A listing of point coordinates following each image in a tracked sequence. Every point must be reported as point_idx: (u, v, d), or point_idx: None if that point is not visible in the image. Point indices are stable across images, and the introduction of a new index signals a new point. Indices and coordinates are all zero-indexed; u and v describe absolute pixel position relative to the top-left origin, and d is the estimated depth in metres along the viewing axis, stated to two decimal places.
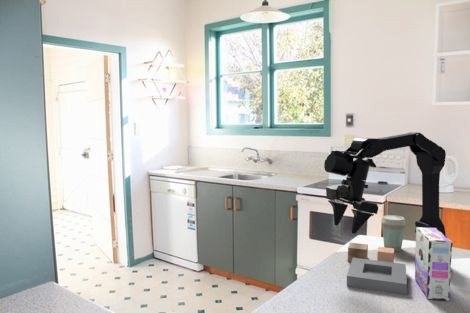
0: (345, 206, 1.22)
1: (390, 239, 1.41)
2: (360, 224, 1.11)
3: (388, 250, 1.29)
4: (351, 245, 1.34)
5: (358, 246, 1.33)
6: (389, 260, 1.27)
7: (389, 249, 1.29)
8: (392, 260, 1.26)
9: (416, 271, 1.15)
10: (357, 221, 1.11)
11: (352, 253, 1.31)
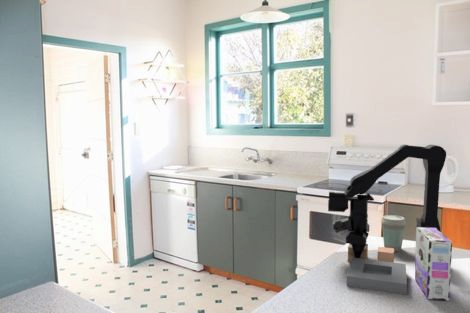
0: None
1: (390, 239, 1.41)
2: (359, 252, 1.29)
3: (388, 250, 1.29)
4: (351, 245, 1.34)
5: None
6: (389, 260, 1.27)
7: (389, 249, 1.29)
8: (392, 260, 1.26)
9: (416, 271, 1.15)
10: (355, 249, 1.30)
11: (352, 253, 1.31)
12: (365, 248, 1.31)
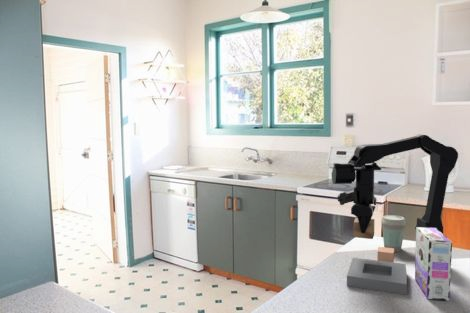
0: None
1: (390, 239, 1.41)
2: (365, 224, 1.23)
3: (388, 250, 1.29)
4: (357, 220, 1.28)
5: None
6: (389, 260, 1.27)
7: (389, 249, 1.29)
8: (392, 260, 1.26)
9: (416, 271, 1.15)
10: (361, 222, 1.23)
11: (358, 228, 1.25)
12: (371, 223, 1.24)
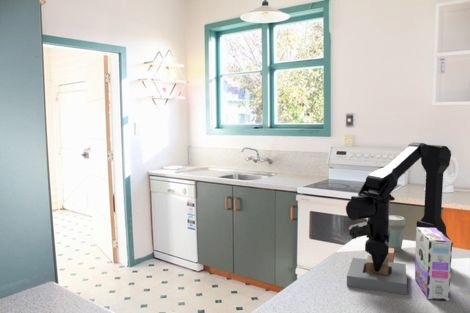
0: None
1: (390, 239, 1.41)
2: (380, 262, 1.12)
3: None
4: (370, 259, 1.17)
5: None
6: (389, 260, 1.27)
7: (389, 249, 1.29)
8: (392, 260, 1.26)
9: (416, 271, 1.15)
10: (375, 260, 1.12)
11: (371, 268, 1.15)
12: (386, 263, 1.14)
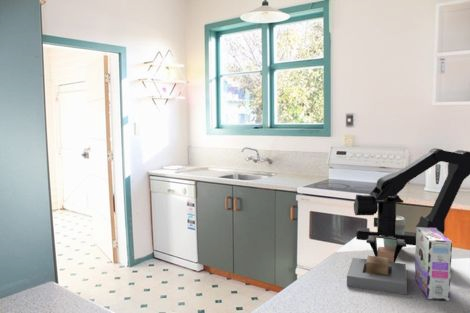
0: (396, 245, 1.26)
1: (390, 239, 1.41)
2: (373, 251, 1.30)
3: (388, 250, 1.29)
4: (370, 259, 1.17)
5: (378, 260, 1.16)
6: (389, 260, 1.27)
7: (389, 249, 1.29)
8: (392, 260, 1.26)
9: (416, 271, 1.15)
10: None
11: (371, 268, 1.15)
12: (386, 263, 1.14)
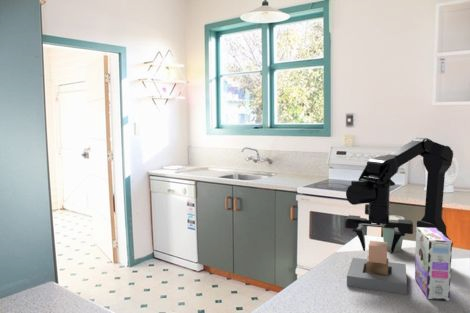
0: (393, 234, 1.12)
1: (390, 239, 1.41)
2: None
3: (381, 244, 1.16)
4: None
5: None
6: (381, 255, 1.14)
7: (382, 243, 1.17)
8: (385, 255, 1.14)
9: (416, 271, 1.15)
10: None
11: (371, 268, 1.15)
12: (386, 263, 1.14)
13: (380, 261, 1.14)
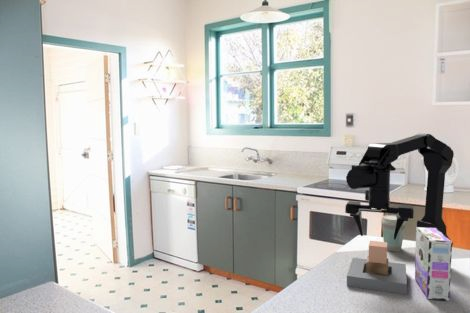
0: (396, 220, 1.12)
1: (390, 239, 1.41)
2: (358, 226, 1.17)
3: (381, 244, 1.16)
4: None
5: None
6: (381, 255, 1.14)
7: (382, 243, 1.17)
8: (385, 255, 1.14)
9: (416, 271, 1.15)
10: None
11: (371, 268, 1.15)
12: (386, 263, 1.14)
13: (380, 261, 1.14)
